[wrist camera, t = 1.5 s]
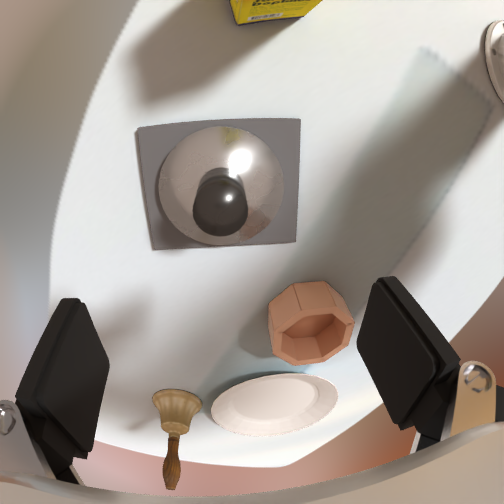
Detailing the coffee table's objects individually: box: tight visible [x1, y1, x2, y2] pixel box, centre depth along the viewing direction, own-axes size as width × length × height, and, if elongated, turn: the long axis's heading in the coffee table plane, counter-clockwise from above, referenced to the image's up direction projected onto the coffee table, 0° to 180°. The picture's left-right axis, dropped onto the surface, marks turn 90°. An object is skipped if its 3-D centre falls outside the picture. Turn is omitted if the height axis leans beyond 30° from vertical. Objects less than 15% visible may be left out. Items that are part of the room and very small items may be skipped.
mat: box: [137, 118, 301, 250], centre depth 27 cm, size 14×12×1 cm
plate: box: [211, 373, 338, 436], centre depth 45 cm, size 21×21×2 cm
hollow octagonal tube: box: [268, 281, 355, 366], centre depth 34 cm, size 9×9×4 cm
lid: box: [159, 126, 284, 245], centre depth 24 cm, size 11×11×6 cm
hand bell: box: [152, 389, 202, 490], centre depth 37 cm, size 8×8×16 cm
